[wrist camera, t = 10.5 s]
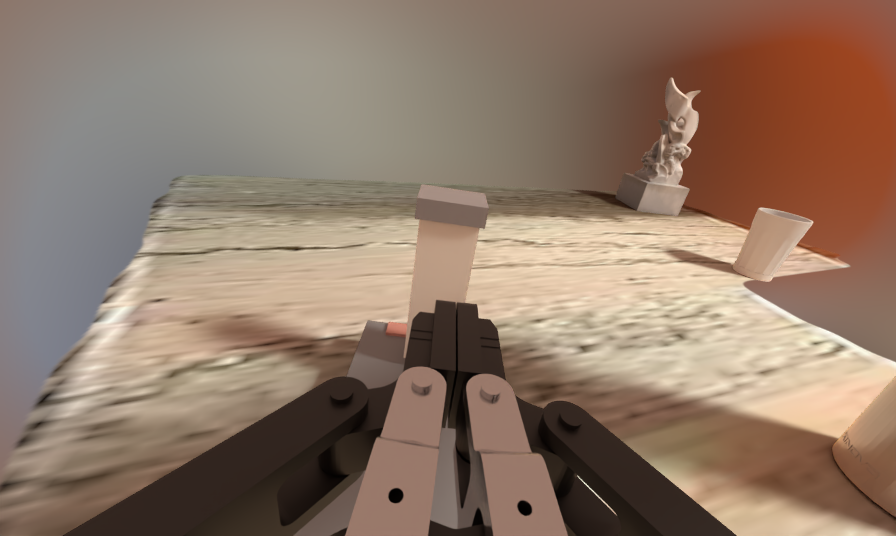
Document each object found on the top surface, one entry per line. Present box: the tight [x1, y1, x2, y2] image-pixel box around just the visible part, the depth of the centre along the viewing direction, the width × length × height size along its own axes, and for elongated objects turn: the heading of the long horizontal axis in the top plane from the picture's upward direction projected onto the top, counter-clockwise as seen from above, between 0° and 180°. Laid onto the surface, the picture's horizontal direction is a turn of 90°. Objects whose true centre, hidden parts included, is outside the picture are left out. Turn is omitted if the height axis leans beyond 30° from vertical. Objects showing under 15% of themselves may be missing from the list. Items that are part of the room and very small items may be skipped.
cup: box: [732, 208, 813, 281], centre depth 68 cm, size 8×8×12 cm
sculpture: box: [615, 78, 700, 216], centre depth 104 cm, size 13×13×35 cm
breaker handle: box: [403, 184, 489, 358], centre depth 28 cm, size 5×4×13 cm
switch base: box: [293, 321, 458, 536], centre depth 25 cm, size 12×22×3 cm, turn 179°
